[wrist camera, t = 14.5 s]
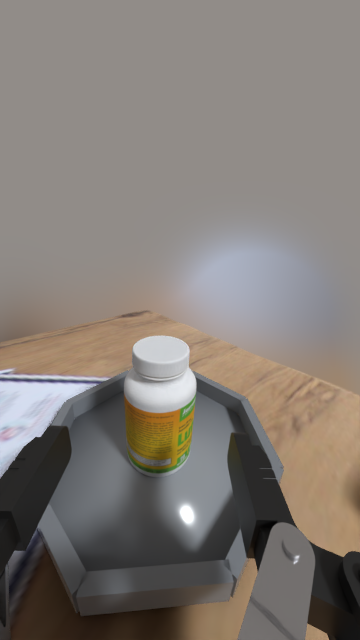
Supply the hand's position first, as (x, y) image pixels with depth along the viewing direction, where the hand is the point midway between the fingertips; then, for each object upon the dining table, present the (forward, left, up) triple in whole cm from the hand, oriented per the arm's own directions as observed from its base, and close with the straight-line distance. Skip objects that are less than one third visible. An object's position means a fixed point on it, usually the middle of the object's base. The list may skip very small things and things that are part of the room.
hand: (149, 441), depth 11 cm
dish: (-4, +5, -8) cm, 10 cm away
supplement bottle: (-4, +4, -8) cm, 10 cm away
